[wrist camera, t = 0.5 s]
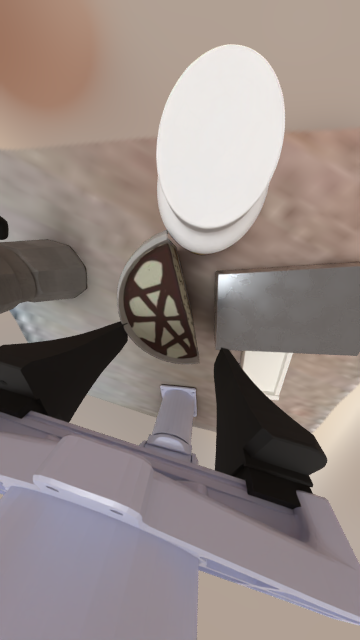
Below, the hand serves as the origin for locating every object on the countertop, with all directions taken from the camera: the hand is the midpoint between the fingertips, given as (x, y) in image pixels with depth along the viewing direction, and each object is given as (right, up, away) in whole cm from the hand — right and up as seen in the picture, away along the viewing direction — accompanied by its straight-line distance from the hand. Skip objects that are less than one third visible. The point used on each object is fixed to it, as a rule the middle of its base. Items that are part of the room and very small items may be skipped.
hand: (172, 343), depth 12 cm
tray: (+15, -6, +11) cm, 20 cm away
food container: (-2, +7, +8) cm, 11 cm away
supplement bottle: (+4, +14, +5) cm, 15 cm away
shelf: (+14, +4, +7) cm, 16 cm away
